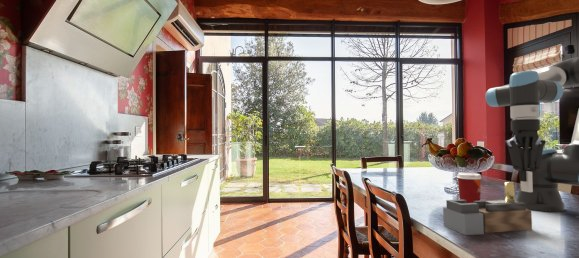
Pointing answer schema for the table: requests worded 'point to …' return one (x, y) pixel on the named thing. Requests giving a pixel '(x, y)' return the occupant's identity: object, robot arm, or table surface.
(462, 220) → the bracket
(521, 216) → the door
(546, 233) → the table surface
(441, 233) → the table surface
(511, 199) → the white and gold piece
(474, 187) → the coffee cup
